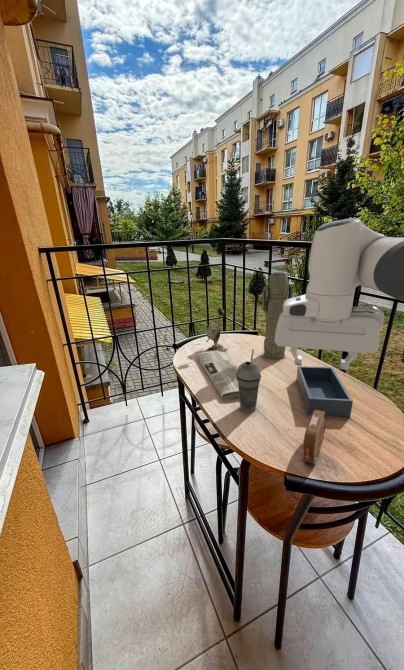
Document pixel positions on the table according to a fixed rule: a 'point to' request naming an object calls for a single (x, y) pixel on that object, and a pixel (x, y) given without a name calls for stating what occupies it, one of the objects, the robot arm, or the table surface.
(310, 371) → the bin
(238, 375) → the beverage cup
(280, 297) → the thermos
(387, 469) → the table surface
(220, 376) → the newspaper
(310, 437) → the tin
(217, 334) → the plant with pod
